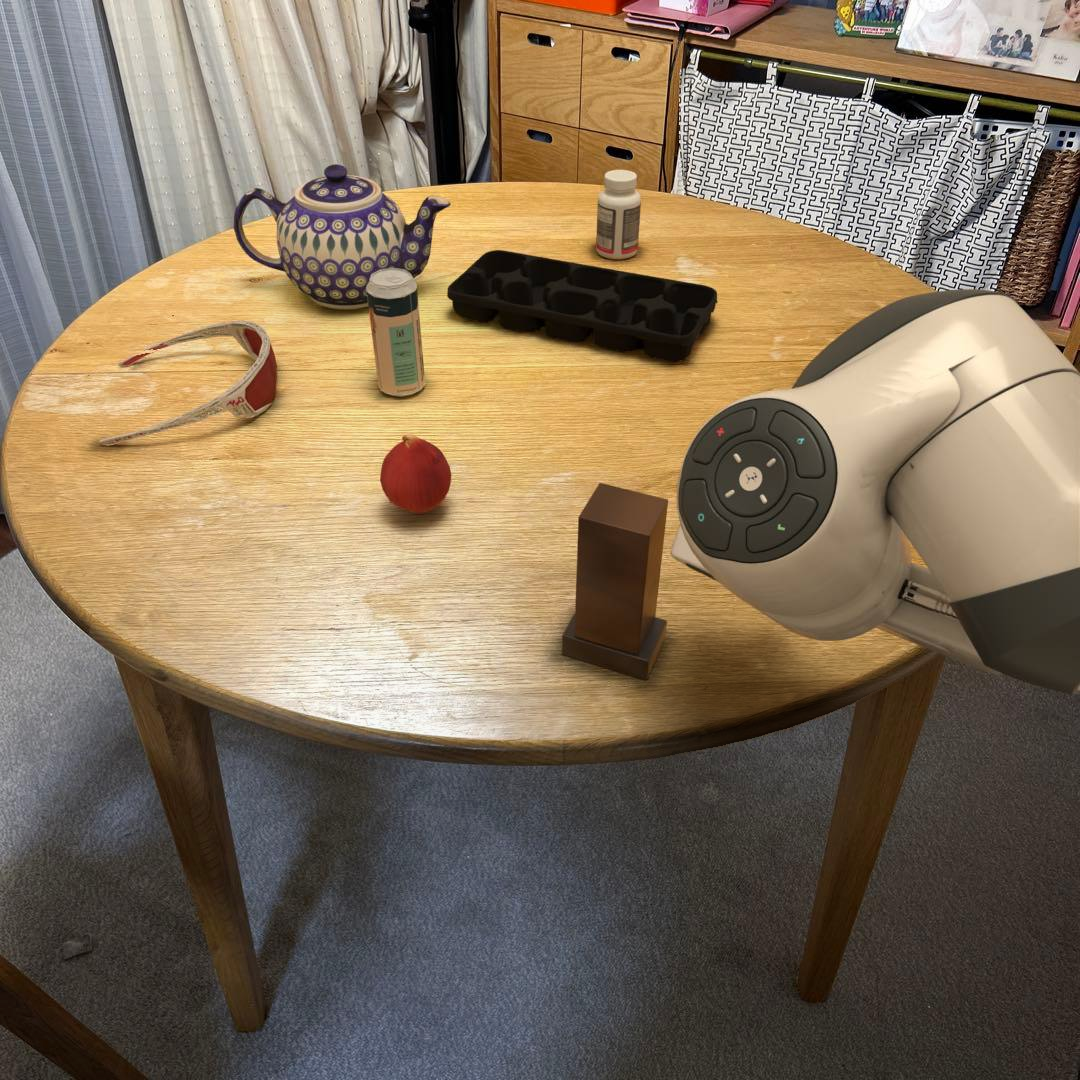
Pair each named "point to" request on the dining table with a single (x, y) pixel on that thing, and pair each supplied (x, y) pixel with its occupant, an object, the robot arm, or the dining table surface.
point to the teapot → (342, 236)
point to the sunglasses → (247, 392)
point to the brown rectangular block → (618, 582)
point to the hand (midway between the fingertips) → (862, 600)
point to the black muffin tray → (585, 303)
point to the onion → (415, 475)
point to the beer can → (396, 331)
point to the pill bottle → (618, 216)
